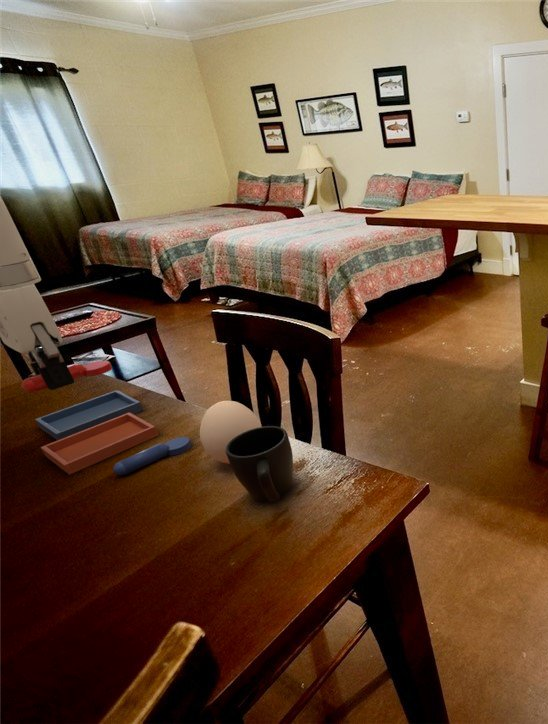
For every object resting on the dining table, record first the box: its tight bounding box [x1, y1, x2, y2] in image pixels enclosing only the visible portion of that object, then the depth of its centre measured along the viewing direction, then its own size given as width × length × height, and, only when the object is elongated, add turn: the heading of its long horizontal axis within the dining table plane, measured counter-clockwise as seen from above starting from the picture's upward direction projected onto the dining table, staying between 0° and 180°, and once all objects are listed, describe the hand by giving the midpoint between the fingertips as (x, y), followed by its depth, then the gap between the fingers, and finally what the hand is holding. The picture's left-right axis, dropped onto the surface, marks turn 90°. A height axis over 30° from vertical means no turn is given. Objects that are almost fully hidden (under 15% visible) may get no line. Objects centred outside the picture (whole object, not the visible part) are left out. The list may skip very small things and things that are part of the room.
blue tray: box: [34, 389, 144, 441], centre depth 94 cm, size 13×10×2 cm
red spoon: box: [21, 360, 113, 393], centre depth 79 cm, size 11×4×2 cm, turn 150°
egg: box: [199, 400, 262, 464], centre depth 80 cm, size 9×9×12 cm
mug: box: [225, 425, 294, 503], centre depth 72 cm, size 8×12×10 cm
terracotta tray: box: [40, 413, 159, 476], centre depth 86 cm, size 13×10×2 cm
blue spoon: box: [112, 436, 192, 477], centre depth 82 cm, size 11×4×2 cm, turn 150°
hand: (58, 383), depth 78 cm, fingers closed on red spoon, 2 cm apart
